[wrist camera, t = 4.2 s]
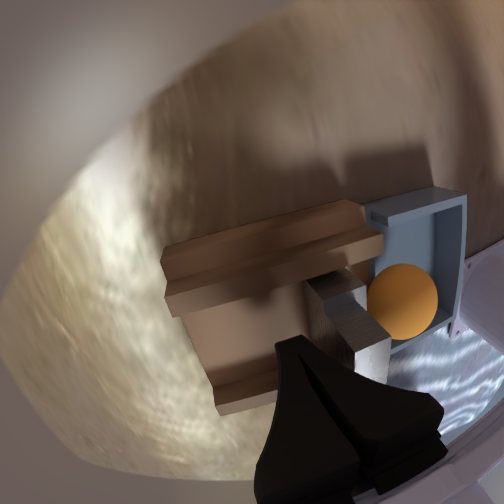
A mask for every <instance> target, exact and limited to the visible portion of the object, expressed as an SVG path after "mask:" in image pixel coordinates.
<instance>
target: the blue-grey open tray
mask: <svg viewBox="0 0 504 504" xmlns="http://www.w3.org/2000/svg"><path fill="white" fill-rule="evenodd" d="M360 205H363V206H364V210H365V220H366V226H368V227H371V228H373V229H375V230H377V231H379V232H381V233H383V242H384V254H382V255H379V256H376V257H373V258H370V259H369V278H370V285H371V283H372V281H373V280H374V278H375V277H376V276H377V275H378V274H379V273H380V272H381V271H382V270H384V269H385V268H387V267H389V266H391V265H395V264H400V263H406V264H412V265H415V266H418V267H420V268H421V269H423V270H424V271H425V272H426V273H427V274H428V275H429V276H430V277H431V279H432V280H433V282H434V284H435V287H436V290H437V295H438V304H437V310H436V313H435V316H434V318H433V320H432V322H431V323H430V325H429V326H428V327H427V328H426V329H425V330H424V331H423V332H421V333H420V334H419V335H417V336H415V337H412V338H409V339H404V340H396V339H392V340H391V351H390V355H392V354H394V353H396V352H398V351H400V350H402V349H404V348H406V347H408V346H410V345H412V344H413V343H415V342H417V341H419V340H421V339H423V338H424V337H426V336H428V335H430V334H432V333H433V332H435V331H437V330H438V329H440V328H442V327H443V326H445V325H447V324H448V323H450V322H452V321H453V320H455V319H456V315H457V310H458V304H459V298H460V292H461V285H462V278H463V269H464V259H465V247H466V230H467V194H464V193H460V192H456V191H452V190H448V189H444V188H440V187H436V186H433V187H429V188H424V189H420V190H416V191H412V192H408V193H404V194H400V195H396V196H392V197H388V198H383V199H379V200H375V201H371V202H367V203H364V204H360Z"/></svg>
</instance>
